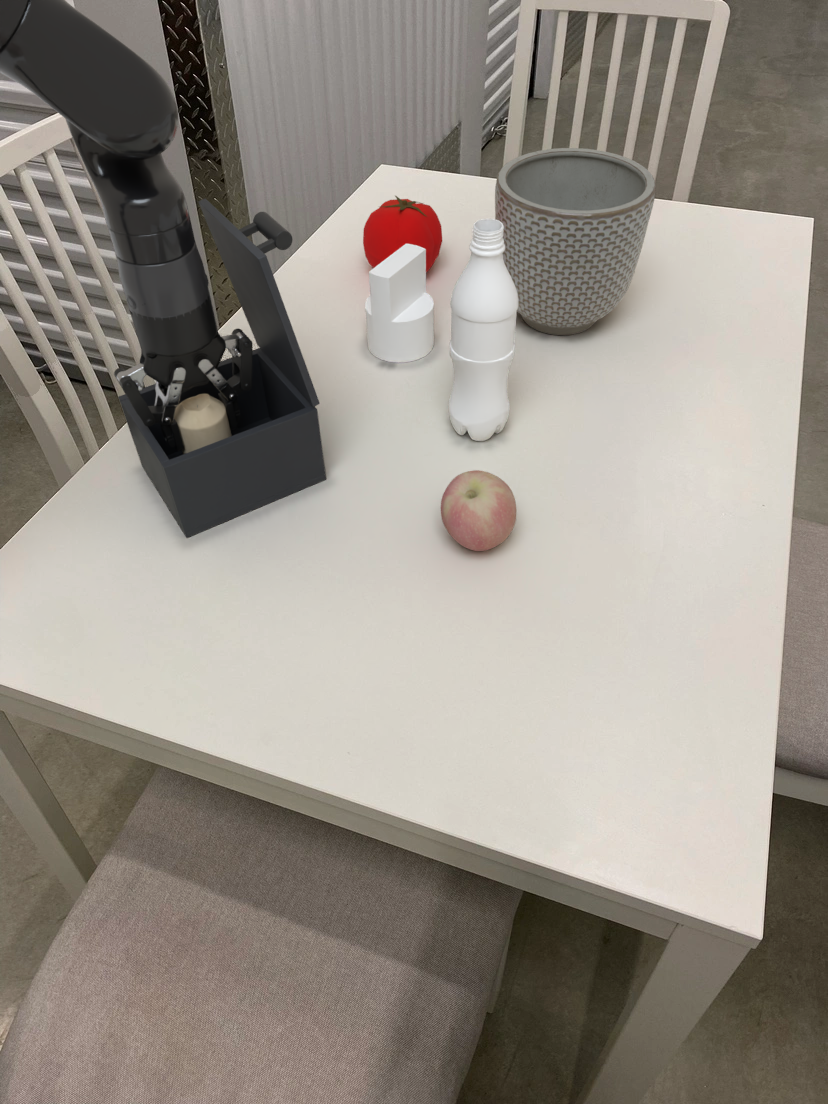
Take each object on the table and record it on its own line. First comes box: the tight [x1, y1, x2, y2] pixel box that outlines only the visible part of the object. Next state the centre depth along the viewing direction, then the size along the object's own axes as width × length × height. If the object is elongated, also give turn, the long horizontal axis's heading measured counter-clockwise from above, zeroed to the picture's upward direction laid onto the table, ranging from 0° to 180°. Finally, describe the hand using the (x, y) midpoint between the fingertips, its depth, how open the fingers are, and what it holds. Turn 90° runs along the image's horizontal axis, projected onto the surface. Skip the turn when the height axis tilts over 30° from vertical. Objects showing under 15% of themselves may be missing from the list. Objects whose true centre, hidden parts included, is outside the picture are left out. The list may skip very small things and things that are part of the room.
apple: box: [440, 469, 517, 552], centre depth 83 cm, size 8×8×8 cm
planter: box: [494, 147, 656, 336], centre depth 108 cm, size 20×20×19 cm
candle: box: [174, 394, 232, 454], centre depth 88 cm, size 6×6×10 cm
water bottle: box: [448, 218, 518, 442], centre depth 89 cm, size 7×7×25 cm
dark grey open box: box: [117, 347, 327, 539], centre depth 90 cm, size 17×14×10 cm
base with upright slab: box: [364, 244, 435, 364], centre depth 106 cm, size 9×9×12 cm
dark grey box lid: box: [197, 198, 320, 407], centre depth 82 cm, size 18×14×5 cm
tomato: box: [362, 195, 443, 273], centre depth 120 cm, size 12×12×11 cm
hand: (204, 435), depth 88 cm, fingers closed on candle, 5 cm apart
